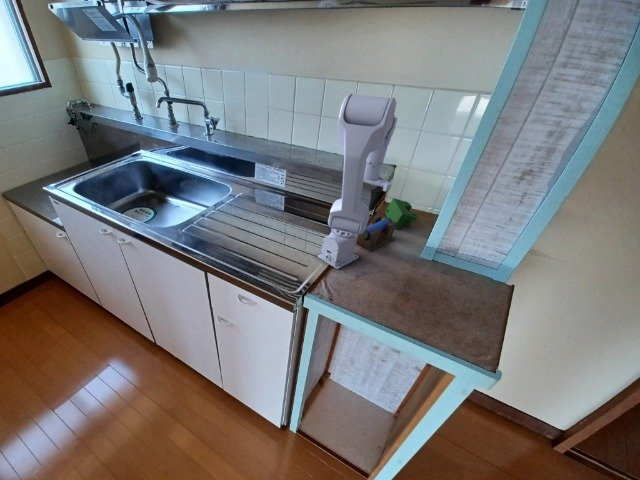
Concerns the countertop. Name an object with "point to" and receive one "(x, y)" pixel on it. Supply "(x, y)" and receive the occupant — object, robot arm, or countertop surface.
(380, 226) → the handle
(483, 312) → the countertop surface
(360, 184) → the robot arm
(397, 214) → the clamp
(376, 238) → the holder
